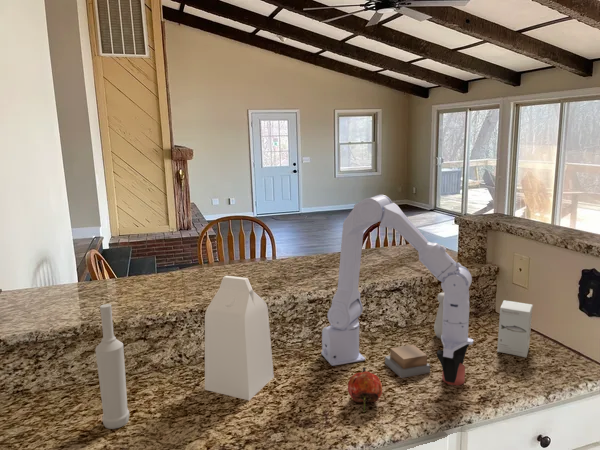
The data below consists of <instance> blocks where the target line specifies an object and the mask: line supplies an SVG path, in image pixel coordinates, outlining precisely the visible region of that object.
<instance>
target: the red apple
mask: <svg viewBox="0 0 600 450" xmlns="http://www.w3.org/2000/svg"><path fill="white" fill-rule="evenodd" d="M383 389H384V388H383V385H382V382H381V380H380V378H379V376H377V375H376V374H375V373H372V372H370V371H367V370H366V367H365V366H364V367H362V372H356V373H355V374H353V375H351V376H350V378H349V380H348V383H347V392H348V393H349V396H350V397H351V399H352V401H354V402H355V403H363V413H365V412H366V408H365V407H366V402H368V403H376V402H378V400H379V399H380V397H381V396H382V394H383Z"/></svg>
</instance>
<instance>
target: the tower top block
mask: <svg viewBox="0 0 600 450" xmlns="http://www.w3.org/2000/svg"><path fill="white" fill-rule="evenodd" d="M389 352H390V353H389V354H390V355H389V356H390V358H391V359H392V360H394V361H395V362H396V363H397V364H398V365H400V366H401V367H402V368H403V369H406V368H412V367H417V366H423V365H427V363H428V354H426V353H425V352H424V351H422V350H421V349H419V348H418V347H417V346H415V345H414V344H409V345H408V344H407V345H401V346H396V347H390V351H389Z"/></svg>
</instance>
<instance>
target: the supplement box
mask: <svg viewBox="0 0 600 450" xmlns="http://www.w3.org/2000/svg"><path fill="white" fill-rule="evenodd" d="M533 306H534V304H531V303H527V302H526V303H524V302H518V301H512V300H505V299H504V300H503V301H502V303H501V305H500V308H499V320H498V322H499V323H498V335H497V336H498V337H497V347H496V348H497V350H496V351H497V353H504V354H509V355H514V356H518V357H523V358H527V357H528V354H529V349H530V339H531V329H532V317H533V316H532V314H533Z"/></svg>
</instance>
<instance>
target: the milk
mask: <svg viewBox="0 0 600 450" xmlns="http://www.w3.org/2000/svg"><path fill="white" fill-rule="evenodd" d="M269 319H270V318H269V307H268V304H267V303H266V301H265V300H264V299H263V298H262V297H261V296H260V295H258V293H257V292H255V291H254V290H253V287H252V284H251V283H250V280H249V278H248V277H242V276H236V275H235V276H233V275H225V276H223V277H222V279H221V282H220V284H219V288H218V290H217V292H216V293H215V295H214V296H213V298H212V299H211V301H210V303H209V305H208V307H207V309H206V310H205V314H204V390H205V391H208V392H212V393H213V392H214V393H217V394H219V395H220V394H222V395H225V396H228V397H229V396H230V397H234V398H236V399H237V398H238V399H241V400H245V401H251V400H252V398H254V397H255V396H256V395H257V394H258V393H259V392H260V391H261V390H262V389H263V388H265V387H266V386H267V384H268V383H269V382H271V380H272V379H274V378H275V376H274V374H275V373H274V363H273V362H274V361H273V352H272V343H271V342H272V340H271V330H270V329H271V328H270V320H269Z"/></svg>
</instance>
